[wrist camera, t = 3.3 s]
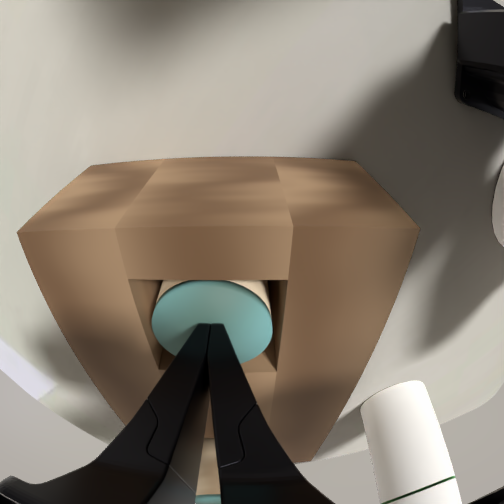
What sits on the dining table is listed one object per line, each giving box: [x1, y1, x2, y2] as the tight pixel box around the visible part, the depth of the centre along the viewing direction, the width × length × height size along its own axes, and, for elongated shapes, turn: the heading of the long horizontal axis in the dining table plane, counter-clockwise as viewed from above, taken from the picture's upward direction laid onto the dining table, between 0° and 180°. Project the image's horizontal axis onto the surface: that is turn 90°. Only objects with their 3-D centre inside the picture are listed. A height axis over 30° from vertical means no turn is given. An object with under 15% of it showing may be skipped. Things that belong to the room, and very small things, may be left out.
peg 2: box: [195, 437, 221, 504], centre depth 15 cm, size 4×4×6 cm
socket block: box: [17, 157, 420, 463], centre depth 16 cm, size 12×20×6 cm, turn 179°
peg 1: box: [152, 280, 272, 364], centre depth 12 cm, size 4×4×6 cm
